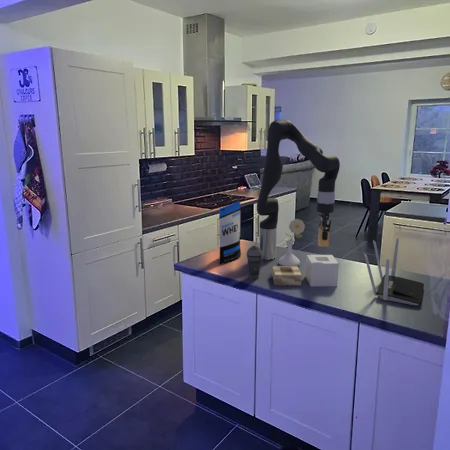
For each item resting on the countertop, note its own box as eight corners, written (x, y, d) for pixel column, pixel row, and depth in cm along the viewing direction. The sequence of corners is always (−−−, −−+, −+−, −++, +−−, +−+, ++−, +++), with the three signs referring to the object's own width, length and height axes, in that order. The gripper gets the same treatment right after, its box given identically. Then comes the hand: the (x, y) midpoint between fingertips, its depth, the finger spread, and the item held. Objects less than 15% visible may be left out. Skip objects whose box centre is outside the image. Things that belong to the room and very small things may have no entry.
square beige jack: (272, 275, 191) (272, 266, 190) (297, 275, 191) (297, 266, 189) (274, 285, 179) (275, 275, 178) (301, 285, 179) (301, 275, 178)
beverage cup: (250, 273, 194) (251, 234, 189) (264, 276, 190) (264, 236, 185) (243, 278, 188) (243, 238, 183) (257, 281, 184) (258, 240, 179)
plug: (317, 243, 181) (318, 222, 179) (326, 243, 181) (327, 222, 179) (319, 246, 177) (320, 225, 175) (328, 246, 177) (329, 225, 175)
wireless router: (419, 313, 152) (425, 264, 147) (357, 301, 163) (361, 255, 158) (424, 283, 180) (429, 241, 175) (371, 275, 191) (375, 235, 186)
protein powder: (212, 263, 209) (211, 207, 202) (232, 250, 230) (232, 200, 222) (227, 265, 205) (227, 209, 197) (247, 252, 225) (248, 201, 218)
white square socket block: (305, 276, 190) (306, 254, 187) (330, 276, 189) (332, 254, 187) (310, 286, 178) (311, 263, 175) (337, 286, 178) (338, 263, 175)
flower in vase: (276, 267, 202) (277, 220, 196) (280, 260, 212) (281, 215, 206) (301, 270, 198) (303, 222, 192) (304, 262, 208) (306, 216, 202)
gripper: (314, 198, 181) (312, 234, 185) (320, 204, 167) (318, 243, 172) (330, 198, 181) (328, 234, 185) (338, 204, 167) (335, 243, 172)
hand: (323, 238), depth 179 cm, fingers closed on plug, 4 cm apart
